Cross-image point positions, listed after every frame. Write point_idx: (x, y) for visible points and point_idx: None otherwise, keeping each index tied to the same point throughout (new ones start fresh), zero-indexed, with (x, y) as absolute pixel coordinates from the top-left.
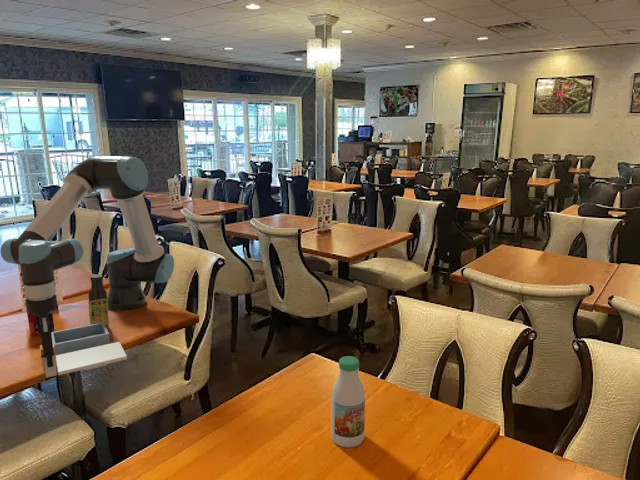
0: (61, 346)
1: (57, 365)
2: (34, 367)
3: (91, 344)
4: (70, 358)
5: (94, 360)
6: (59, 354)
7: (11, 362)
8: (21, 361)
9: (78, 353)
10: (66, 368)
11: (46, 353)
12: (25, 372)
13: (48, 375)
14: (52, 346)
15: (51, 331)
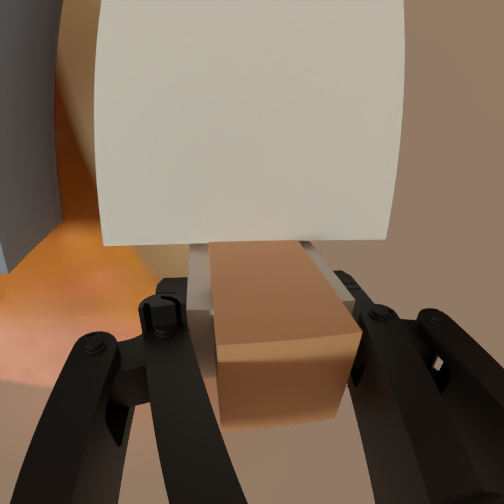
0: (9, 207)
1: (289, 237)
2: (77, 308)
3: (28, 6)
4: (218, 143)
5: (359, 11)
6: (38, 208)
7: (16, 369)
8: (12, 343)
9: (152, 78)
10: (372, 190)
11: (442, 370)
12: (117, 340)
13: None
14: (494, 365)
15: (492, 494)
